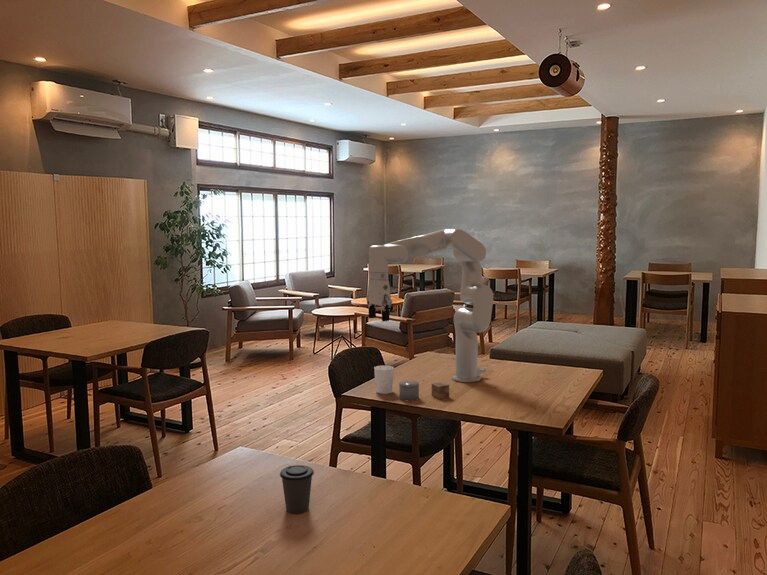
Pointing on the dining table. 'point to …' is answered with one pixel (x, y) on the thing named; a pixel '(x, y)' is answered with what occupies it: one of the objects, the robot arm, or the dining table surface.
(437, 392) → the walnut cube
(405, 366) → the dining table surface
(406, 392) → the stoneware pot
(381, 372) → the white cup
